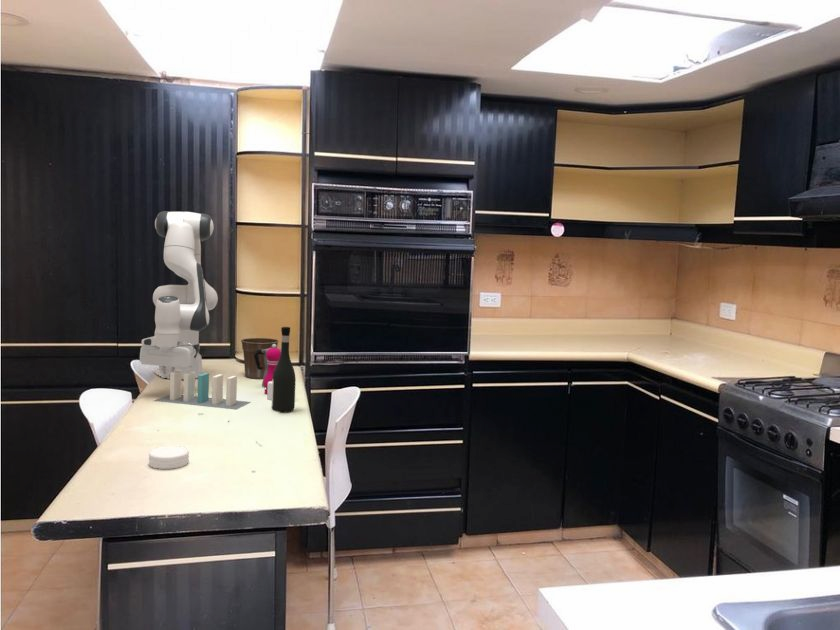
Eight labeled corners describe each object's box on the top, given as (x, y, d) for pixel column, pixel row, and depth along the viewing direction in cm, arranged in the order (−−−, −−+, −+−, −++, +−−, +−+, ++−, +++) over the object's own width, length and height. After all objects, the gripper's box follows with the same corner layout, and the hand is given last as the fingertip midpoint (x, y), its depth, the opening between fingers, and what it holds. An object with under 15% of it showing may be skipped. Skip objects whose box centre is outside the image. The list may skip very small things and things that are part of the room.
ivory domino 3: (211, 404, 240) (212, 376, 239) (218, 401, 245) (219, 374, 244) (215, 404, 240) (216, 377, 239) (222, 401, 245) (223, 374, 244)
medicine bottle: (279, 403, 248) (280, 372, 246) (266, 400, 252) (267, 369, 251) (293, 400, 253) (294, 369, 252) (281, 397, 258) (282, 366, 256)
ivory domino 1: (169, 399, 243) (170, 372, 242) (177, 396, 248) (177, 370, 247) (173, 400, 243) (174, 373, 242) (181, 397, 248) (181, 370, 247)
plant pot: (237, 373, 298) (237, 337, 296) (273, 372, 305) (274, 337, 303) (243, 380, 284) (244, 343, 282) (281, 379, 290) (282, 342, 289)
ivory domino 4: (225, 405, 239) (226, 378, 238) (232, 402, 244) (232, 375, 243) (229, 406, 239) (230, 378, 238) (236, 403, 244) (237, 376, 243)
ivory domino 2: (183, 401, 242) (183, 374, 241) (190, 398, 247) (191, 371, 246) (187, 401, 242) (187, 374, 241) (194, 398, 247) (195, 372, 246)
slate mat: (153, 401, 240) (153, 400, 240) (171, 394, 252) (171, 393, 252) (236, 410, 235) (236, 409, 235) (251, 403, 247) (251, 401, 246)
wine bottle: (266, 410, 237) (269, 326, 234) (281, 406, 244) (284, 325, 241) (284, 414, 234) (287, 329, 230) (298, 409, 241) (302, 327, 237)
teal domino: (197, 402, 241) (197, 375, 240) (204, 399, 246) (205, 372, 245) (201, 403, 241) (202, 375, 240) (208, 400, 246) (209, 373, 245)
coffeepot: (281, 382, 284) (283, 340, 283) (292, 386, 277) (294, 343, 275) (248, 385, 275) (249, 342, 273) (258, 390, 267) (259, 345, 266)
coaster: (175, 455, 185) (176, 443, 185) (196, 464, 179) (196, 451, 179) (141, 463, 178) (141, 450, 177) (161, 473, 171) (161, 459, 171)
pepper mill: (277, 397, 258) (279, 346, 256) (259, 395, 259) (261, 344, 257) (284, 393, 265) (286, 343, 263) (267, 391, 266) (269, 341, 264)
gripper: (198, 342, 245) (197, 379, 246) (147, 337, 249) (147, 374, 250) (189, 344, 239) (188, 382, 240) (137, 339, 242) (136, 377, 244)
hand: (166, 378), depth 245 cm, fingers closed
